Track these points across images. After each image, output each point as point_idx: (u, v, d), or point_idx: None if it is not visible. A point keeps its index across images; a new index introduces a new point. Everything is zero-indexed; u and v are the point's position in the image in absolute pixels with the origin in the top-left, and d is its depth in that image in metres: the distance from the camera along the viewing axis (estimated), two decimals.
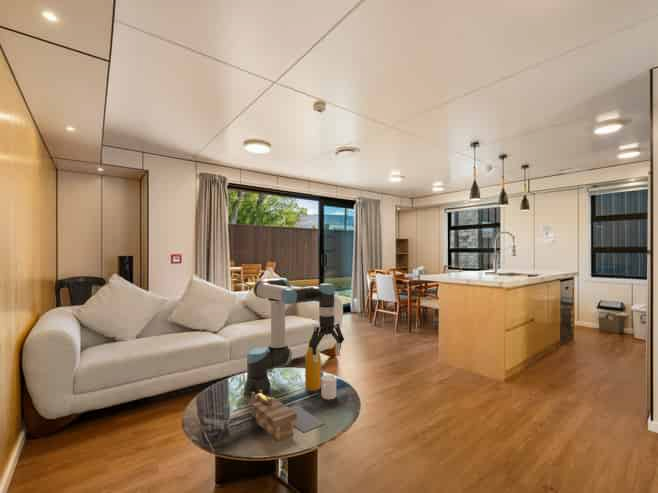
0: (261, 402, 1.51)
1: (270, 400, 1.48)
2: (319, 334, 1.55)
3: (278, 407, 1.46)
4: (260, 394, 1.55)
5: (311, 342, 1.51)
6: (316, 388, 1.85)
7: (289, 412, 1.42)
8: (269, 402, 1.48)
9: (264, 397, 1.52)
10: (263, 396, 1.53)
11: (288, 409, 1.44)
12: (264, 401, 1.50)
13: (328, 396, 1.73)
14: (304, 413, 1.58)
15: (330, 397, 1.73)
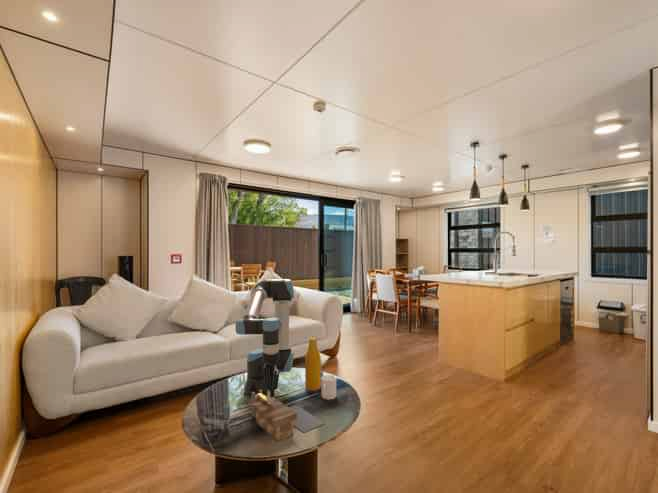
0: (261, 402, 1.51)
1: None
2: None
3: (278, 407, 1.46)
4: (260, 394, 1.56)
5: None
6: (316, 388, 1.85)
7: (289, 412, 1.42)
8: None
9: (264, 397, 1.52)
10: (263, 396, 1.53)
11: (288, 409, 1.44)
12: (264, 401, 1.50)
13: (328, 396, 1.73)
14: (304, 413, 1.58)
15: (330, 397, 1.73)
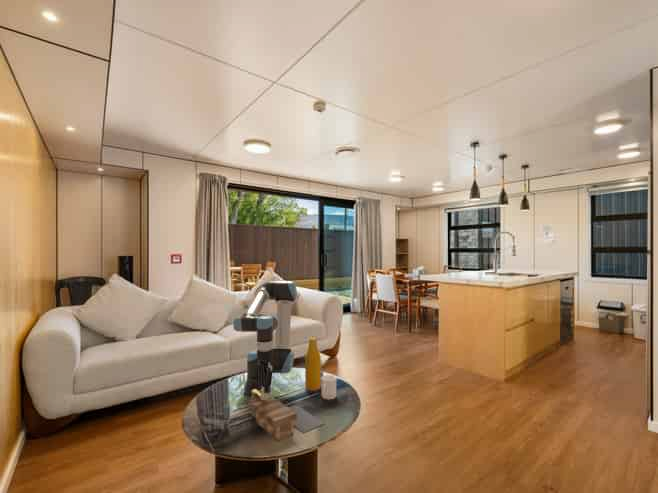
0: (261, 402, 1.51)
1: None
2: None
3: (278, 407, 1.46)
4: (254, 390, 1.60)
5: None
6: (316, 388, 1.85)
7: (289, 412, 1.42)
8: None
9: (258, 393, 1.57)
10: (257, 392, 1.58)
11: (288, 409, 1.44)
12: (258, 397, 1.55)
13: (328, 396, 1.73)
14: (304, 413, 1.58)
15: (330, 397, 1.73)
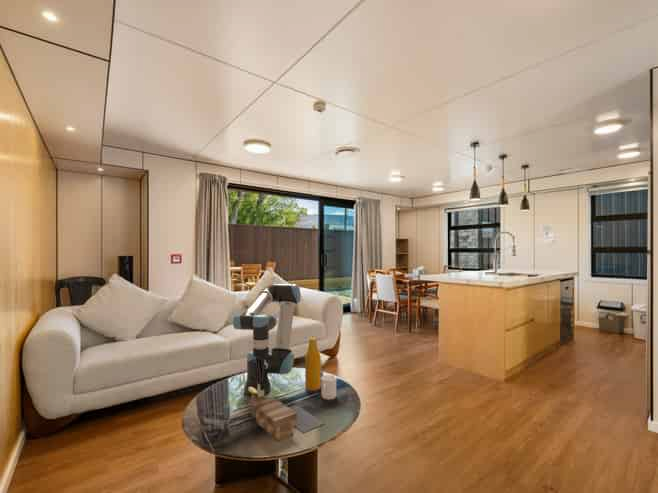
0: (261, 402, 1.51)
1: None
2: None
3: (278, 407, 1.46)
4: (251, 387, 1.63)
5: None
6: (316, 388, 1.85)
7: (289, 412, 1.42)
8: None
9: (254, 390, 1.60)
10: (254, 389, 1.61)
11: (288, 409, 1.44)
12: None
13: (328, 396, 1.73)
14: (304, 413, 1.58)
15: (330, 397, 1.73)
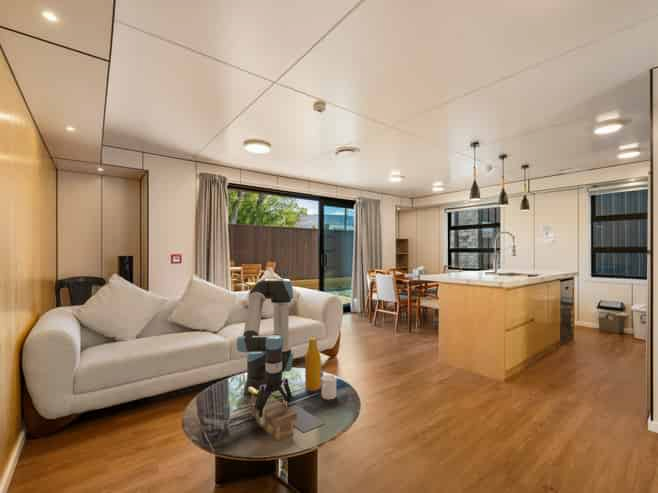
0: None
1: None
2: (265, 393, 1.43)
3: (278, 407, 1.46)
4: (251, 387, 1.63)
5: (256, 404, 1.40)
6: (316, 388, 1.85)
7: (289, 412, 1.42)
8: None
9: (254, 390, 1.60)
10: (253, 389, 1.61)
11: (288, 409, 1.44)
12: None
13: (328, 396, 1.73)
14: (304, 413, 1.58)
15: (330, 397, 1.73)
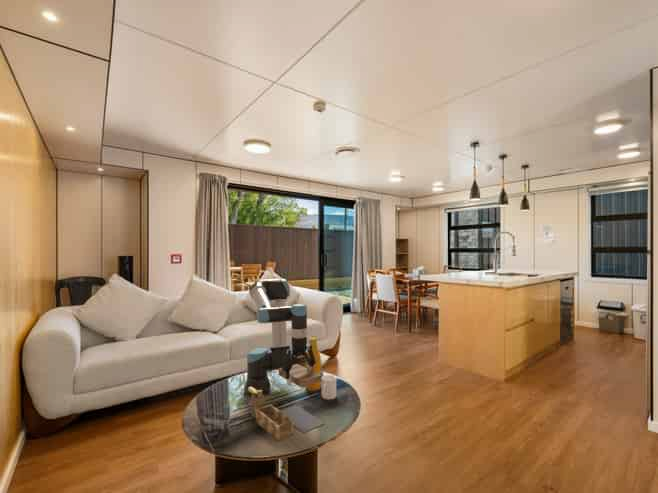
0: None
1: (260, 393, 1.56)
2: (292, 357, 1.53)
3: (303, 371, 1.55)
4: (251, 387, 1.63)
5: (284, 366, 1.49)
6: (316, 388, 1.85)
7: (314, 374, 1.51)
8: (259, 395, 1.56)
9: (254, 390, 1.60)
10: (253, 389, 1.61)
11: (313, 372, 1.53)
12: None
13: (328, 396, 1.73)
14: (304, 413, 1.58)
15: (330, 397, 1.73)
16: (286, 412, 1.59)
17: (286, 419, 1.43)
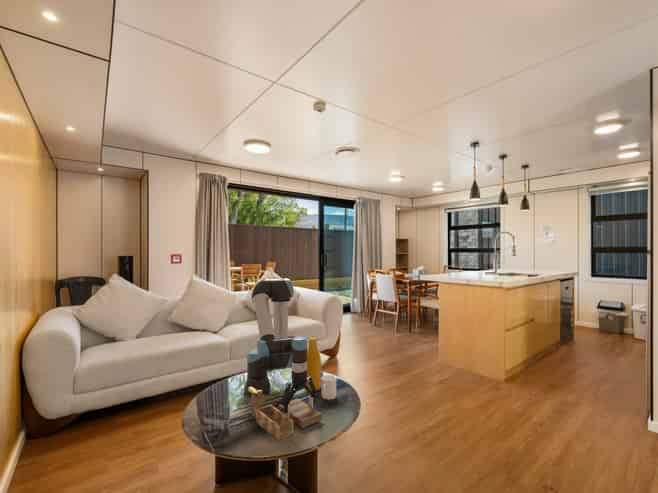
0: None
1: (260, 393, 1.56)
2: (291, 390, 1.52)
3: (303, 408, 1.55)
4: (251, 387, 1.63)
5: (282, 400, 1.48)
6: (316, 388, 1.85)
7: (314, 412, 1.50)
8: (259, 395, 1.56)
9: (254, 390, 1.60)
10: (253, 389, 1.61)
11: (313, 410, 1.53)
12: None
13: (328, 396, 1.73)
14: None
15: (330, 397, 1.73)
16: None
17: (286, 419, 1.43)
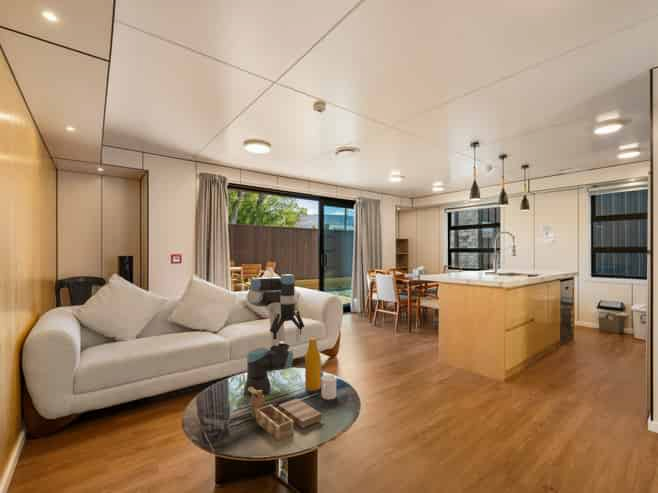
0: (286, 403, 1.60)
1: (260, 393, 1.56)
2: (280, 320, 1.68)
3: (303, 408, 1.55)
4: (251, 387, 1.63)
5: (272, 327, 1.65)
6: (316, 388, 1.85)
7: (314, 412, 1.50)
8: (259, 395, 1.56)
9: (254, 390, 1.60)
10: (253, 389, 1.61)
11: (313, 410, 1.53)
12: None
13: (328, 396, 1.73)
14: None
15: (330, 397, 1.73)
16: None
17: (286, 419, 1.43)
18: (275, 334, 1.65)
